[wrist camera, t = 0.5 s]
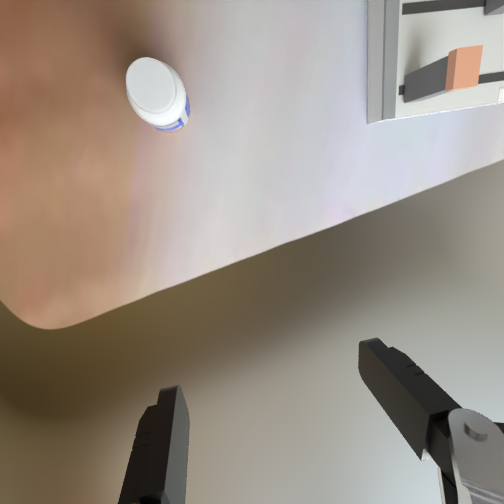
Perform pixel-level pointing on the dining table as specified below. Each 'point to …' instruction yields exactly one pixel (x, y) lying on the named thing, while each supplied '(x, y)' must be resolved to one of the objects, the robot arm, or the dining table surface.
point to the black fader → (494, 7)
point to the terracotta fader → (445, 75)
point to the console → (429, 54)
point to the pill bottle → (157, 94)
